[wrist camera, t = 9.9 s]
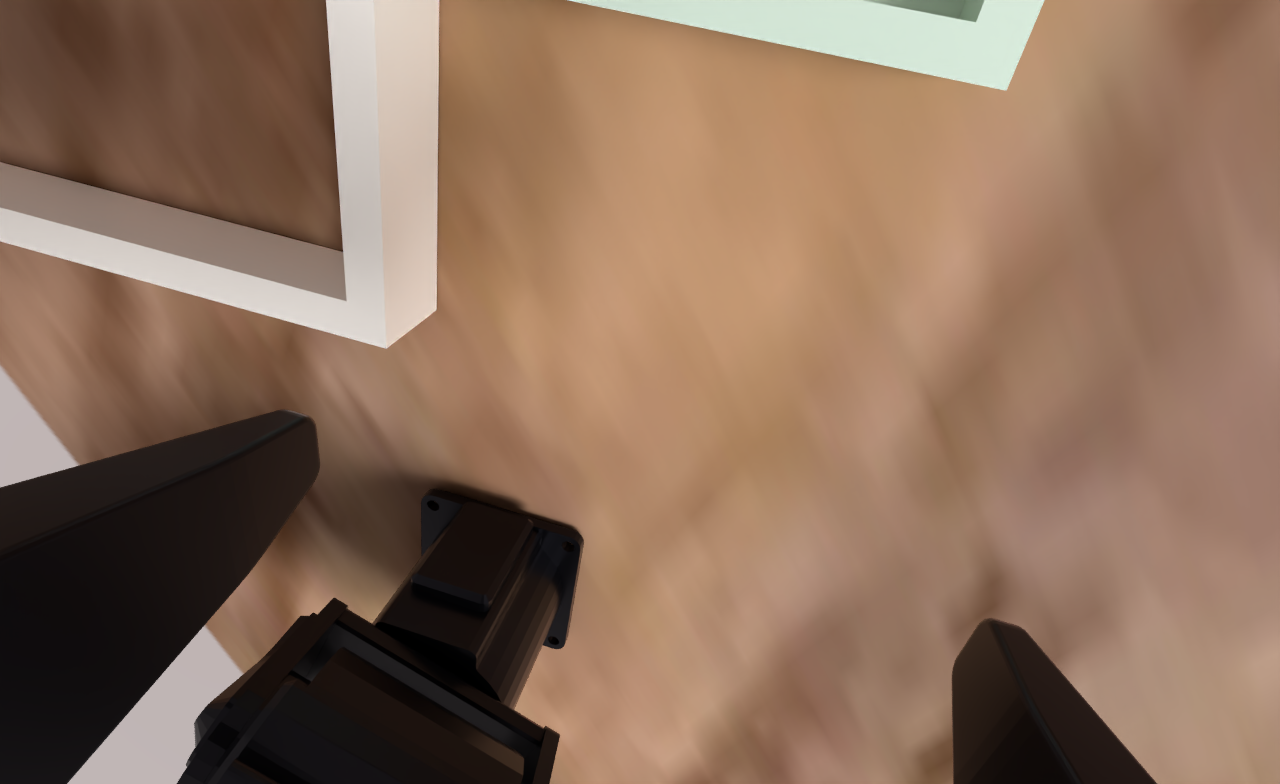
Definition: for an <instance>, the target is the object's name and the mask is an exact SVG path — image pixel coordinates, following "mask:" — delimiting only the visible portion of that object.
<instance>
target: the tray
mask: <svg viewBox="0 0 1280 784" xmlns="http://www.w3.org/2000/svg"><path fill="white" fill-rule="evenodd" d="M569 1H574V2H578V3H583V4H588V5H593V6H598V7H603V8H608V9H612V10H617V11H622V12H627V13H632V14H637V15H642V16H646V17H651V18H656V19H661V20H666V21H671V22H676V23H680V24H685V25H690V26H695V27H700V28H705V29H710V30H714V31H719V32H724V33H729V34H734V35H739V36H744V37H748V38H753V39H758V40H763V41H768V42H773V43H778V44H782V45H787V46H792V47H797V48H802V49H807V50H812V51H816V52H821V53H826V54H831V55H836V56H841V57H846V58H850V59H855V60H860V61H865V62H870V63H875V64H880V65H884V66H889V67H894V68H899V69H904V70H909V71H914V72H918V73H923V74H928V75H933V76H938V77H943V78H948V79H952V80H957V81H962V82H967V83H972V84H977V85H982V86H986V87H991V88H996V89H1001V90H1007V88H1008V85H1009V83H1010V81H1011V78H1012V76H1013V73H1014V71H1015V69H1016V66H1017V64H1018V62H1019V59H1020V57H1021V54H1022V52H1023V50H1024V47H1025V45H1026V43H1027V40H1028V38H1029V36H1030V33H1031V31H1032V28H1033V26H1034V24H1035V21H1036V19H1037V17H1038V14H1039V12H1040V9H1041V7H1042V5H1043V2H1044V0H569Z"/></svg>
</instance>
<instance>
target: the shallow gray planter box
mask: <svg viewBox="0 0 1280 784" xmlns="http://www.w3.org/2000/svg"><path fill="white" fill-rule="evenodd" d="M326 8H327V22H328V37H329V51H330V66H331V81H332V95H333V110H334V124H335V139H336V154H337V168H338V183H339V197H340V212H341V227H342V241H343V252H341V251H337V250H333V249H330V248H326V247H322V246H318V245H314V244H311V243H307V242H303V241H299V240H295V239H291V238H288V237H284V236H280V235H276V234H272V233H269V232H265V231H261V230H257V229H253V228H249V227H246V226H242V225H238V224H234V223H230V222H227V221H223V220H219V219H215V218H211V217H208V216H204V215H200V214H196V213H192V212H188V211H185V210H181V209H177V208H173V207H169V206H166V205H162V204H158V203H154V202H150V201H147V200H143V199H139V198H135V197H131V196H127V195H124V194H120V193H116V192H112V191H108V190H105V189H101V188H97V187H93V186H89V185H85V184H82V183H78V182H74V181H70V180H66V179H63V178H59V177H55V176H51V175H47V174H44V173H40V172H36V171H32V170H28V169H24V168H21V167H17V166H13V165H9V164H5V163H2V162H0V241H1V242H5V243H8V244H12V245H15V246H19V247H23V248H26V249H30V250H33V251H37V252H41V253H44V254H48V255H51V256H55V257H59V258H62V259H66V260H69V261H73V262H77V263H80V264H84V265H87V266H91V267H95V268H98V269H102V270H105V271H109V272H112V273H116V274H120V275H123V276H127V277H130V278H134V279H138V280H141V281H145V282H148V283H152V284H156V285H159V286H163V287H166V288H170V289H174V290H177V291H181V292H184V293H188V294H192V295H195V296H199V297H202V298H206V299H210V300H213V301H217V302H220V303H224V304H228V305H231V306H235V307H238V308H242V309H245V310H249V311H253V312H256V313H260V314H263V315H267V316H271V317H274V318H278V319H281V320H285V321H289V322H292V323H296V324H299V325H303V326H307V327H310V328H314V329H317V330H321V331H325V332H328V333H332V334H335V335H339V336H343V337H346V338H350V339H353V340H357V341H361V342H364V343H368V344H371V345H375V346H379V347H382V348H386V349H387V348H388V347H389V346H390V345H392V344H393V343H394V342H396V341H397V340H398V339H400V338H401V337H402V336H404V335H405V334H406V333H407V332H409V331H410V330H411V329H413V328H414V327H415V326H417V325H418V324H419V323H420V322H422V321H423V320H424V319H426V318H427V317H428V316H430V315H431V314H432V313H433V312H435V311H436V309H437V196H438V83H439V0H326Z"/></svg>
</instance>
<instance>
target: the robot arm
mask: <svg viewBox="0 0 1280 784" xmlns="http://www.w3.org/2000/svg"><path fill="white" fill-rule="evenodd" d="M319 468H320V458H319V448H318V439H317V429H316V424H315V422H314V420H313V419H312V418H311V417H309V416H307V415H304V414H300V413H297V412H293V411H290V410H278V411H274V412H270V413H267V414H263V415H260V416H256V417H252V418H249V419H245V420H242V421H238V422H234V423H231V424H227V425H224V426H220V427H216V428H213V429H209V430H206V431H202V432H198V433H195V434H191V435H188V436H184V437H180V438H177V439H173V440H170V441H166V442H163V443H159V444H155V445H152V446H148V447H145V448H141V449H137V450H134V451H130V452H127V453H123V454H119V455H116V456H112V457H109V458H105V459H101V460H98V461H94V462H91V463H87V464H83V465H80V466H76V467H73V468H69V469H66V470H62V471H58V472H55V473H51V474H47V475H44V476H40V477H37V478H34V479H30V480H26V481H22V482H19V483H15V484H12V485H8V486H4V487H1V488H0V784H67V783H68V782H69V781H70V780H71V778H72V777H73V776H74V775H75V774H76V773H77V771H78V770H79V769H80V768H81V767H82V766H83V765H84V763H85V762H86V761H87V760H88V759H89V757H90V756H91V755H92V754H93V753H94V752H95V751H96V750H97V748H98V747H99V746H100V745H101V744H102V743H103V742H104V740H105V739H106V738H107V737H108V736H109V735H110V733H111V732H112V731H113V730H114V729H115V728H116V727H117V725H118V724H119V723H120V722H121V721H122V720H123V718H124V717H125V716H126V715H127V714H128V713H129V712H130V710H131V709H132V708H133V707H134V706H135V705H136V703H137V702H138V701H139V700H140V699H141V697H142V696H143V695H144V694H145V693H146V692H147V691H148V690H149V688H150V687H151V686H152V685H153V684H154V683H155V682H156V680H157V679H158V678H159V677H160V676H161V675H162V673H163V672H164V671H165V670H166V669H167V668H168V667H169V665H170V664H171V663H172V662H173V661H174V660H175V658H176V657H177V656H178V655H179V654H180V653H181V652H182V650H183V649H184V648H185V647H186V646H187V645H188V643H189V642H190V641H191V640H192V639H193V638H194V636H195V635H196V634H197V633H198V632H199V631H200V630H201V629H202V627H203V626H204V625H205V624H206V623H207V622H208V620H209V619H210V618H211V617H212V616H213V615H214V614H215V612H216V611H217V610H218V609H219V608H220V607H221V605H222V604H223V603H224V602H225V601H226V600H227V599H228V597H229V596H230V595H231V594H232V593H233V592H234V590H235V589H236V588H237V587H238V586H239V585H240V583H241V582H242V581H243V580H244V579H245V577H246V576H247V575H248V574H249V572H250V571H251V570H252V569H253V567H254V566H255V565H256V563H257V562H258V561H259V559H260V558H261V557H262V555H263V554H264V553H265V551H266V550H267V548H268V547H269V546H270V544H271V543H272V541H273V540H274V538H275V537H276V536H277V534H278V533H279V531H280V530H281V528H282V527H283V526H284V524H285V523H286V521H287V520H288V519H289V517H290V516H291V514H292V513H293V511H294V510H295V509H296V507H297V506H298V504H299V503H300V501H301V500H302V499H303V497H304V496H305V494H306V493H307V492H308V490H309V489H310V487H311V486H312V484H313V483H314V481H315V480H316V478H317V475H318V472H319ZM434 501H435V502H437V503H438V504H437V503H435V502H434ZM566 541H567V542H570V543H572V544H573V545H571V544H569V543H567V542H566ZM583 545H584V540H583V538H582V536H581V535H580V534H579V533H578V532H576V531H574V530H571V529H568V528H564V527H561V526H558V525H555V524H551V523H548V522H545V521H541V520H538V519H535V518H531V517H528V516H525V515H521V514H518V513H515V512H511V511H508V510H505V509H501V508H498V507H495V506H492V505H488V504H485V503H482V502H478V501H475V500H472V499H468V498H465V497H462V496H458V495H455V494H452V493H448V492H445V491H442V490H438V489H431V490H429V491H428V492H427V493H426V494H425V496H424V497H423V498H422V501H421V547H422V557H421V558H420V560H419V561H418V562H417V564H416V565H415V567H414V568H413V569H412V571H411V572H410V573H409V575H408V576H407V577H406V579H405V580H404V581H403V583H402V584H401V585H400V587H399V588H398V590H397V591H396V592H395V594H394V595H393V596H392V598H391V599H390V600H389V602H388V603H387V604H386V606H385V607H384V608H383V610H382V611H381V613H380V614H379V615H378V617H377V618H376V619H375V621H374V622H373V623H372V624H371V623H370V622H368V621H366V620H365V619H363V618H361V617H360V616H358V615H357V614H355V613H353V612H352V611H350V610H348V609H347V608H348V605H346V604H344V603H343V602H341V601H339V600H338V599H336V598H333V599H332V600H331V601H330V602H329V603H328V604H327V605H326V606H325V607H324V609H323V610H322V611H321V612H320V613H319V614H318V615H317V614H315V613H312V614H311V615H310V616H300V617H299V618H298V619H297V620H296V622H295V623H294V624H293V625H292V626H291V627H290V628H289V630H288V631H287V632H286V633H285V634H284V635H283V637H282V638H281V639H280V640H279V641H278V642H277V643H276V644H275V646H274V647H273V648H272V649H271V650H270V651H269V652H268V653H267V654H266V655H265V656H264V657H263V658H262V659H261V660H260V661H259V662H258V663H257V664H255V665H254V666H253V667H252V668H251V669H249V670H248V671H247V672H246V673H245V674H243V675H242V676H241V677H240V678H239V679H237V680H236V681H235V682H234V683H233V684H232V685H230V686H229V687H228V688H227V689H226V690H224V691H223V692H222V693H221V694H220V695H219V696H217V697H216V698H215V699H214V700H213V701H212V702H210V704H208V705H207V706H206V707H205V709H204V710H203V711H202V712H201V714H200V715H199V716H198V718H197V719H196V721H195V723H194V726H195V747H196V748H195V749H194V751H193V752H192V754H191V756H190V757H189V759H188V761H187V764H186V766H187V768H186V770H185V771H184V773H183V774H182V776H181V778H180V779H179V781H178V783H177V784H549V783H550V778H551V773H552V769H553V764H554V760H555V755H556V751H557V746H558V742H559V737H560V734H558V733H557V732H555V731H553V730H552V729H550V728H548V727H547V726H545V727H544V728H543V727H541V726H540V725H538V724H536V723H535V722H533V721H531V720H530V719H528V718H526V717H525V716H523V715H521V714H520V713H518V712H516V711H515V710H514V708H515V706H516V704H517V701H518V699H519V697H520V695H521V692H522V690H523V688H524V686H525V683H526V681H527V679H528V677H529V674H530V672H531V670H532V668H533V665H534V663H535V661H536V659H537V656H538V654H539V652H540V650H541V647H542V645H544V646H547V647H550V648H554V649H561V648H562V647H564V645H565V642H566V640H567V638H568V633H569V627H570V621H571V615H572V609H573V604H574V598H575V592H576V586H577V580H578V574H579V568H580V563H581V557H582V551H583ZM952 729H953V784H1157V783H1156V782H1155V781H1154V779H1153V778H1152V777H1151V776H1150V775H1149V774H1148V773H1147V771H1146V770H1145V769H1144V768H1143V767H1142V766H1141V764H1140V763H1139V762H1138V761H1137V760H1136V759H1135V757H1134V756H1133V755H1132V754H1131V753H1130V752H1129V750H1128V749H1127V748H1126V747H1125V746H1124V745H1123V743H1122V742H1121V741H1120V740H1119V739H1118V738H1117V736H1116V735H1115V734H1114V733H1113V732H1112V731H1111V729H1110V728H1109V727H1108V726H1107V725H1106V724H1105V723H1104V721H1103V720H1102V719H1101V718H1100V717H1099V716H1098V714H1097V713H1096V712H1095V711H1094V710H1093V709H1092V707H1091V706H1090V705H1089V704H1088V703H1087V702H1086V700H1085V699H1084V698H1083V697H1082V696H1081V695H1080V693H1079V692H1078V691H1077V690H1076V689H1075V688H1074V686H1073V685H1072V684H1071V683H1070V682H1069V681H1068V680H1067V678H1066V677H1065V676H1064V675H1063V674H1062V673H1061V671H1060V670H1059V669H1058V668H1057V667H1056V666H1055V664H1054V663H1053V662H1052V661H1051V660H1050V659H1049V657H1048V656H1047V655H1046V654H1045V653H1044V652H1043V650H1042V649H1041V648H1040V647H1039V646H1038V645H1037V643H1036V642H1035V641H1034V640H1033V639H1032V638H1031V636H1030V635H1029V634H1028V633H1027V632H1026V631H1025V630H1024V629H1022V628H1021V627H1019V626H1017V625H1014V624H1010V623H1007V622H1003V621H1000V620H997V619H993V618H986V619H984V620H982V621H981V622H980V623H979V625H978V626H977V627H976V629H975V630H974V632H973V634H972V635H971V637H970V638H969V640H968V641H967V643H966V644H965V646H964V647H963V649H962V650H961V652H960V653H959V655H958V656H957V658H956V660H955V663H954V666H953V671H952Z"/></svg>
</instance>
